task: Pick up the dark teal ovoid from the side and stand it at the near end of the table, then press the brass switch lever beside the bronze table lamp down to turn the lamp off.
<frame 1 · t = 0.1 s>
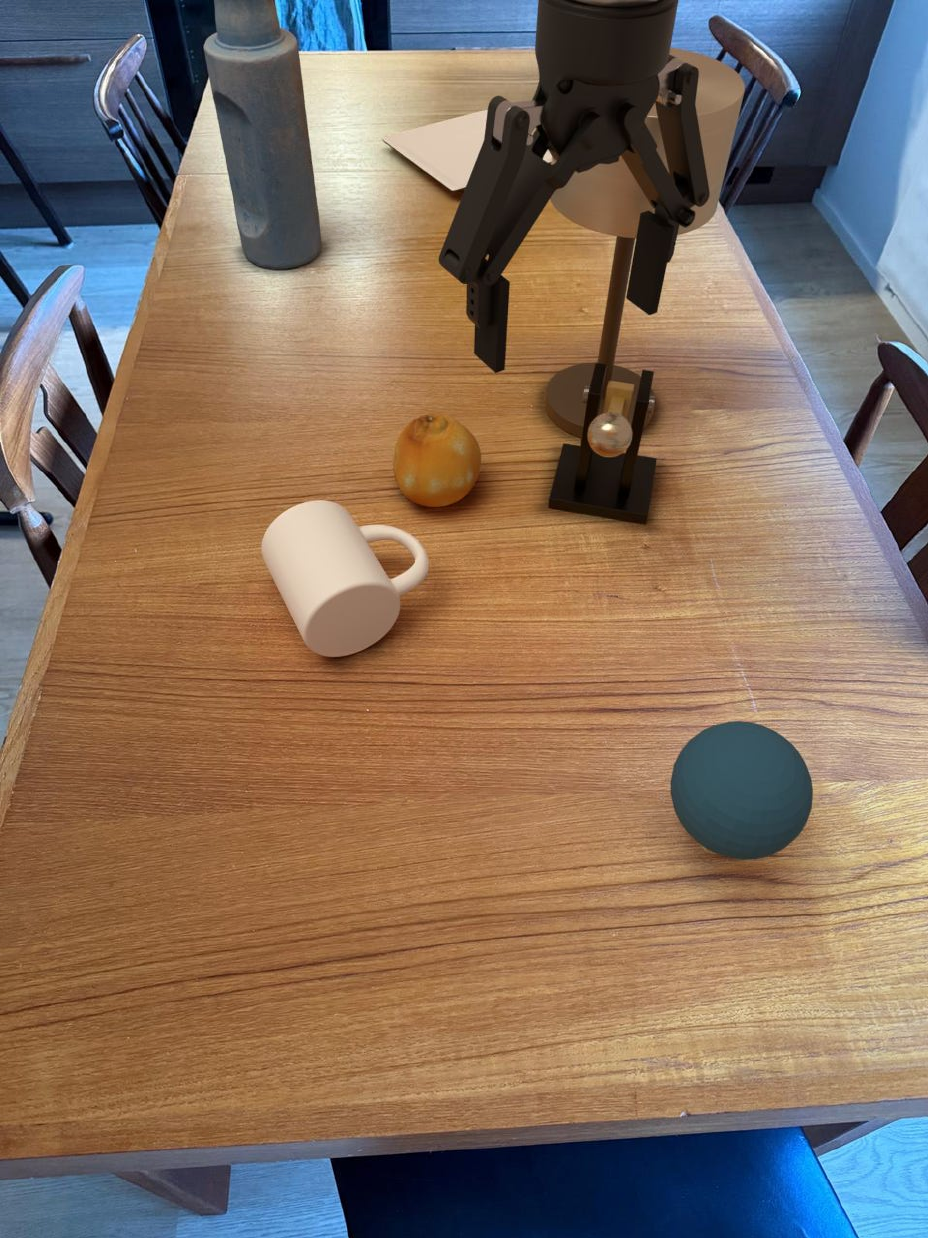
hand: (568, 332, 64), 20 cm above the table, tool pointing down, fingers open, 13 cm apart
lamp switch: (614, 415, 70), point 13 cm above the table, hinge at 25.0°
switch bracket: (602, 487, 84), on the table
fruit: (436, 490, 83), on the table
plate: (471, 162, 127), on the table
dark teal ovoid: (710, 846, 61), on the table
lamp: (598, 406, 92), on the table
bottle: (282, 252, 110), on the table
mug: (357, 603, 75), on the table
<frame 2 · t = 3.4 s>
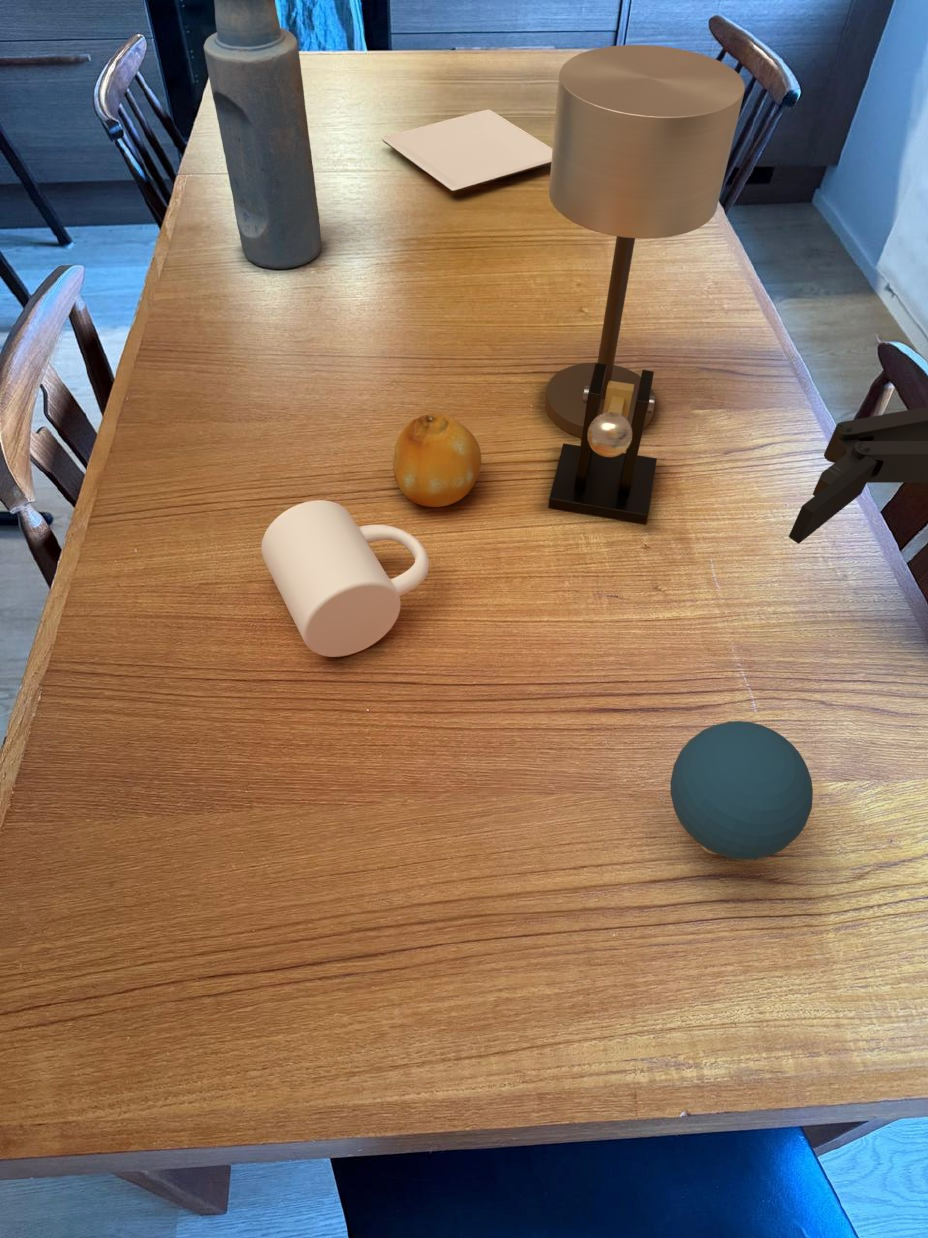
hand: (900, 594, 50), 20 cm above the table, tool horizontal, fingers open, 13 cm apart
nothing on the table moved.
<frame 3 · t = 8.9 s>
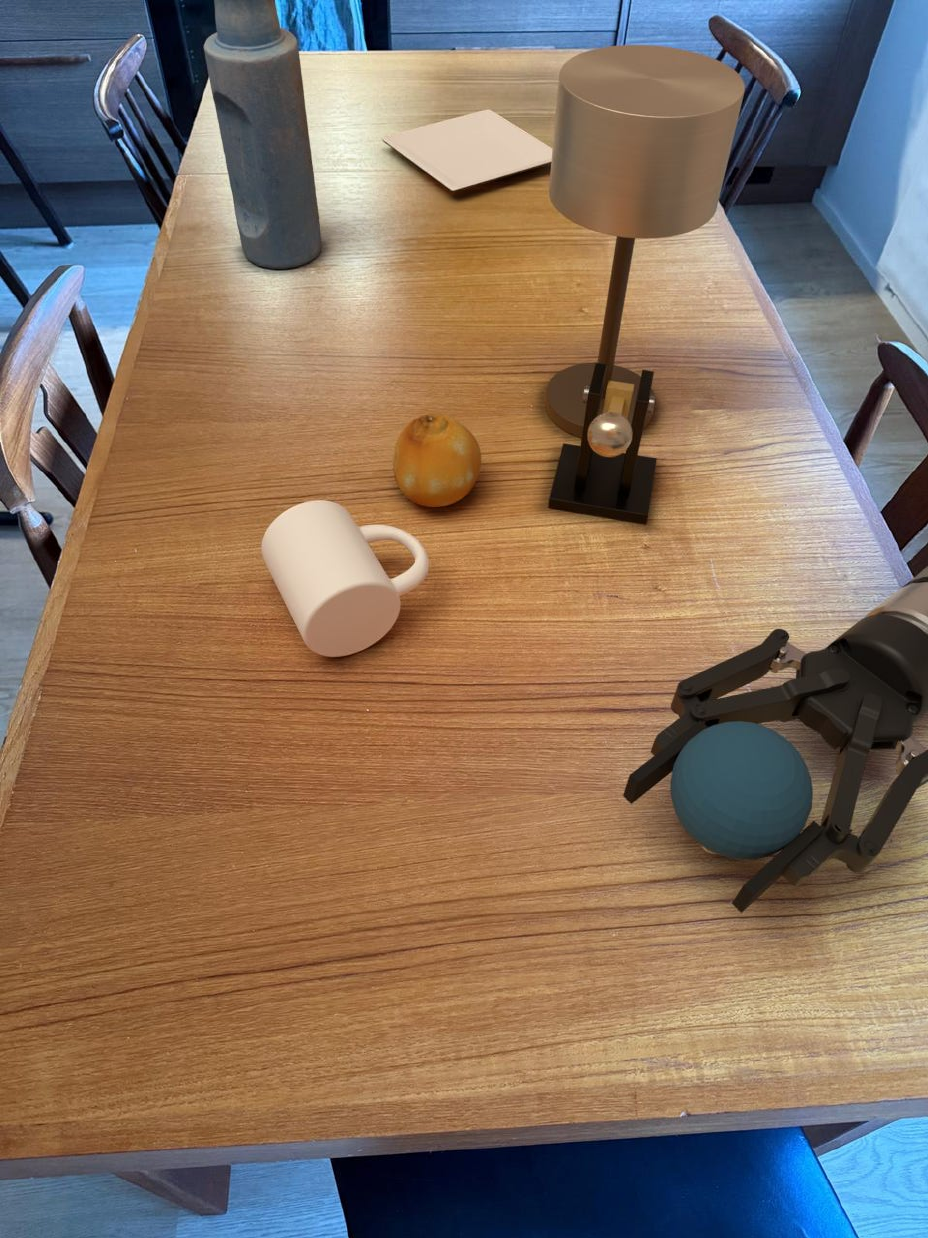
hand: (684, 842, 54), 7 cm above the table, tool horizontal, fingers closed on dark teal ovoid, 8 cm apart
dark teal ovoid: (710, 846, 61), on the table, touching gripper
everything else where it was.
when the fingers open (7 cm above the table, at t = 16.5 s): dark teal ovoid stays where it is, on the table.
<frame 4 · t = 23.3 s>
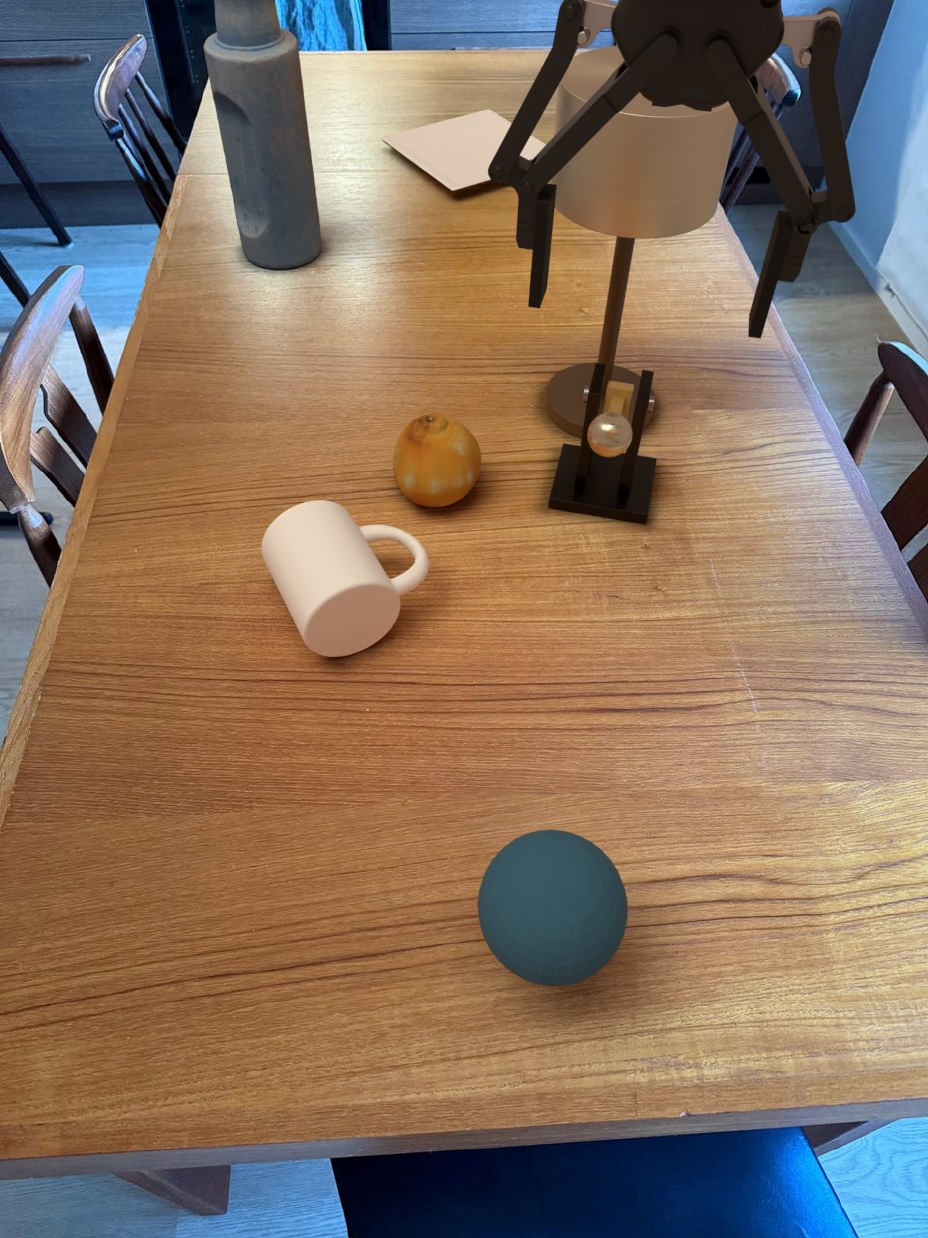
hand: (644, 312, 56), 26 cm above the table, tool pointing down, fingers open, 13 cm apart
dark teal ovoid: (540, 955, 56), on the table
everything else where it was.
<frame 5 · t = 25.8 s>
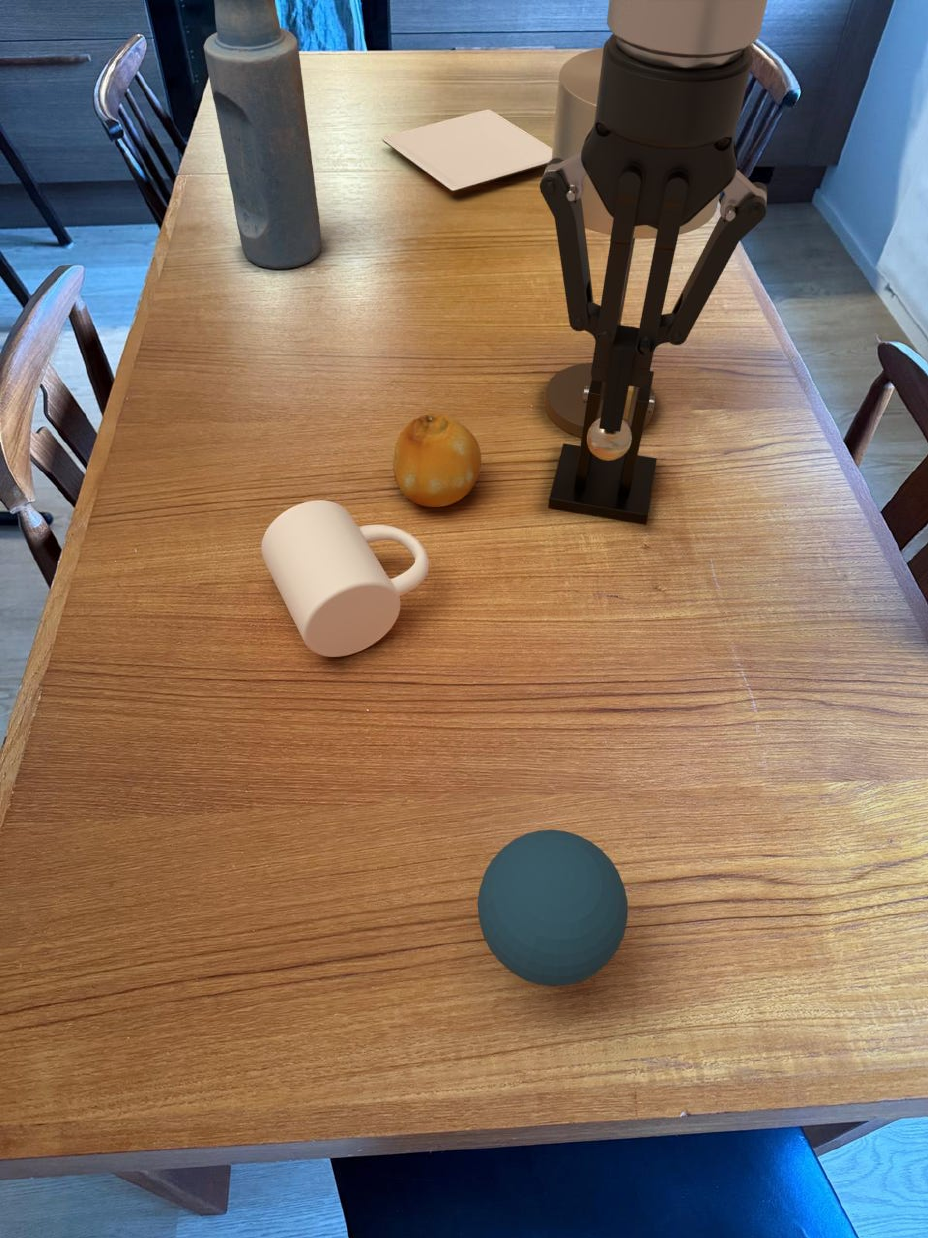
hand: (612, 417, 63), 17 cm above the table, tool pointing down, fingers closed
lamp switch: (614, 417, 70), point 13 cm above the table, hinge at 23.9°, touching gripper
everything else where it was.
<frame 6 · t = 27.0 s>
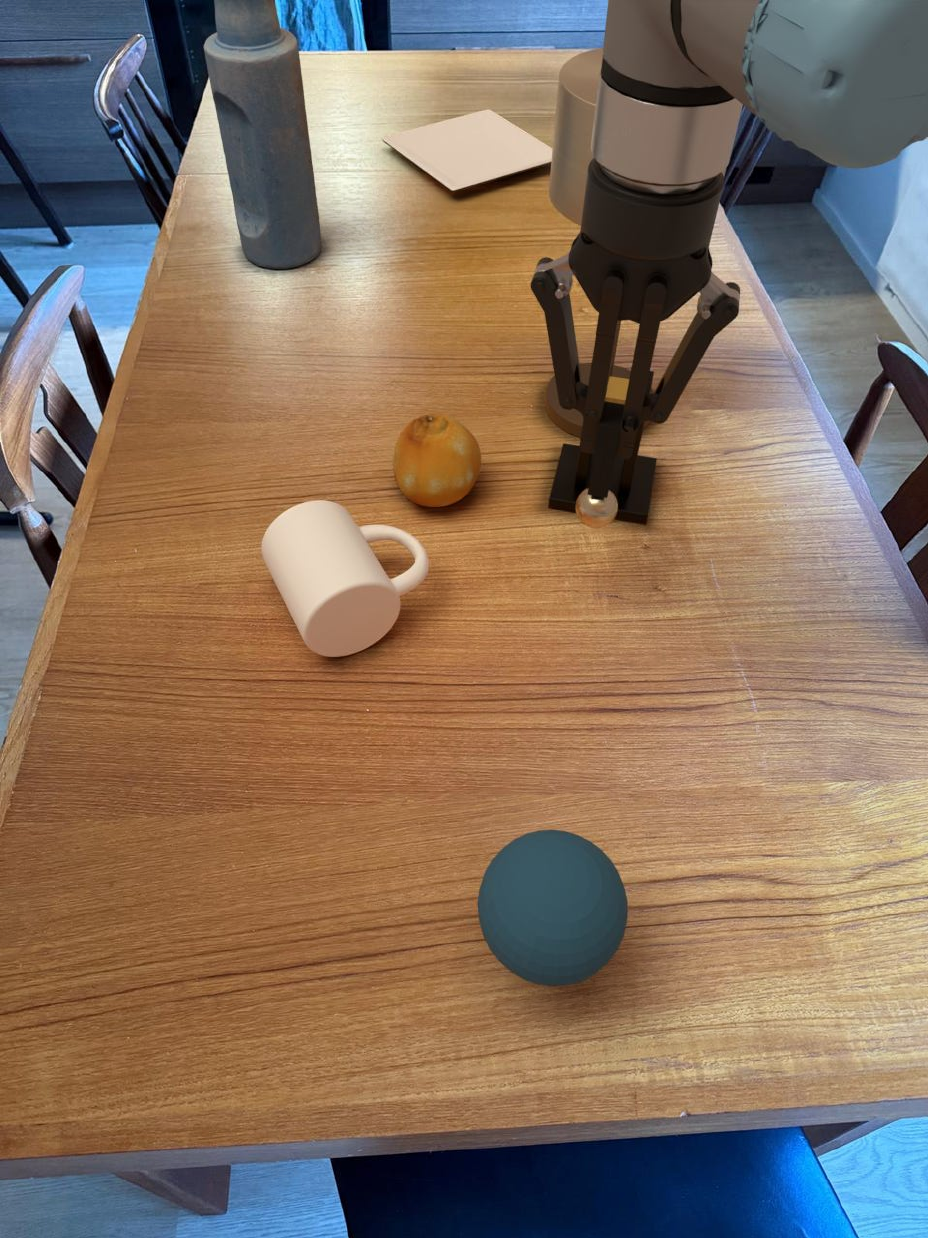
hand: (599, 483, 67), 11 cm above the table, tool pointing down, fingers closed
lamp switch: (607, 451, 72), point 10 cm above the table, hinge at -2.4°
everything else where it was.
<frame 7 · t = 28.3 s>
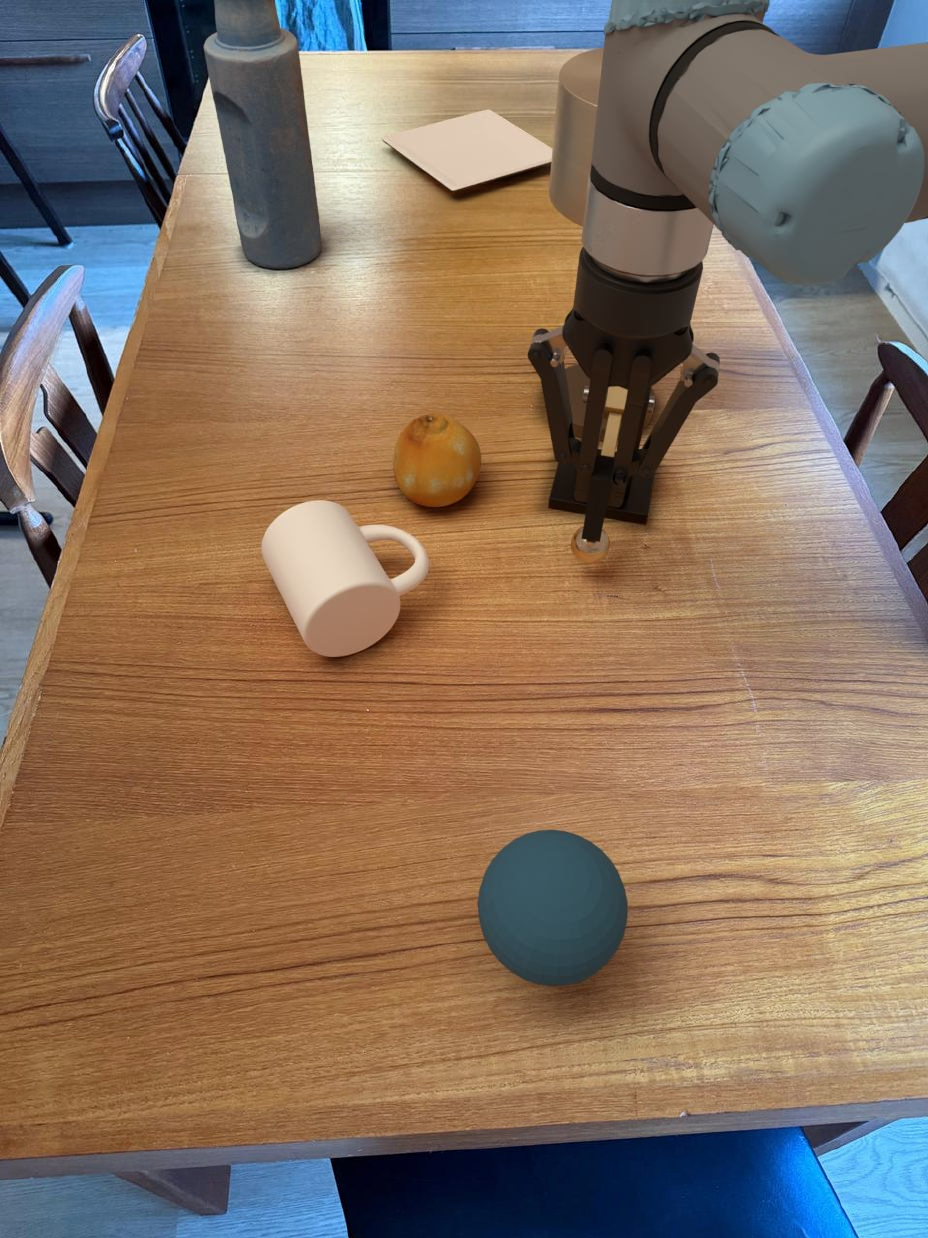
hand: (592, 528, 72), 6 cm above the table, tool pointing down, fingers closed
lamp switch: (604, 471, 75), point 7 cm above the table, hinge at -28.4°, touching gripper
everything else where it was.
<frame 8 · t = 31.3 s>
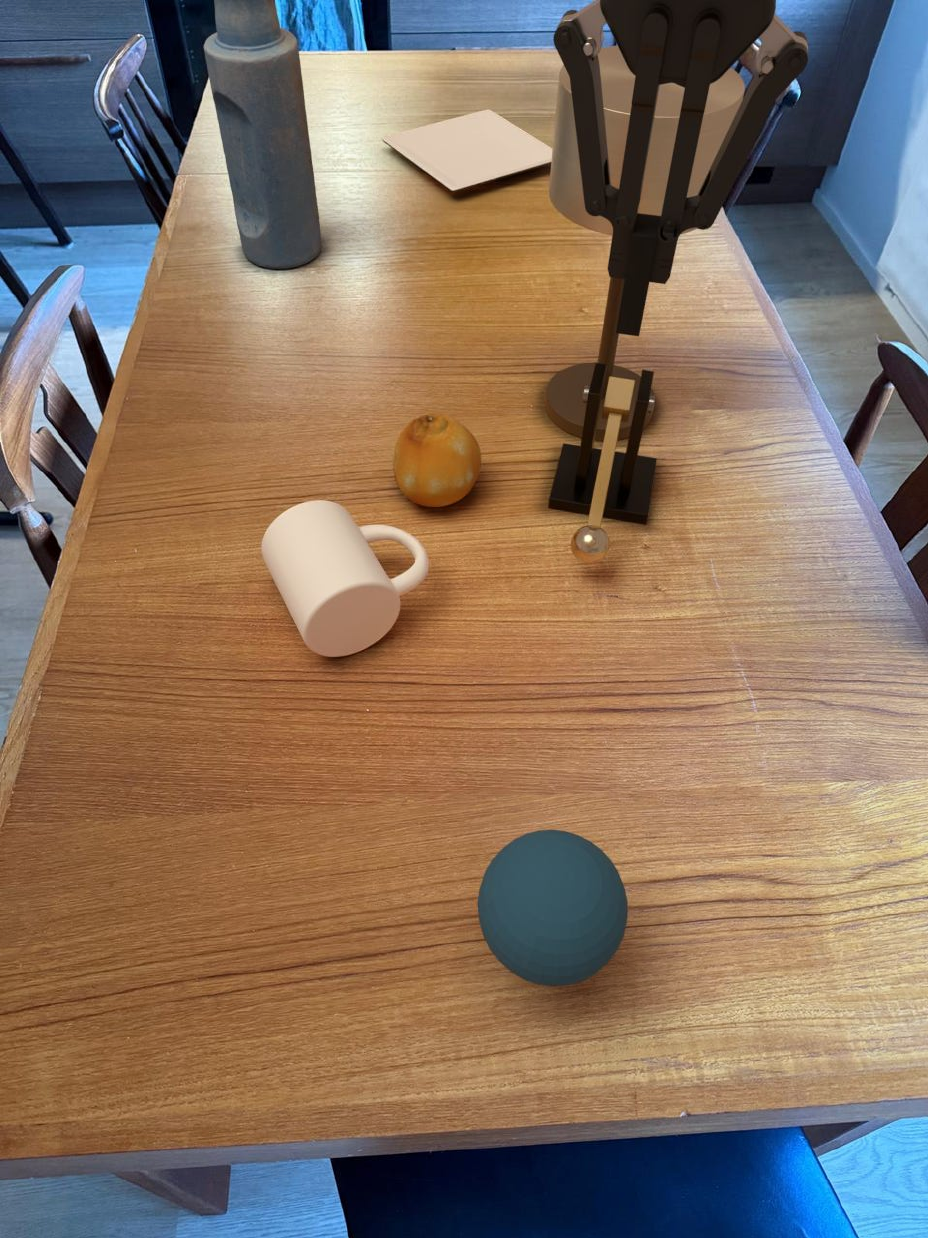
hand: (629, 322, 58), 24 cm above the table, tool pointing down, fingers closed
lamp switch: (604, 471, 75), point 7 cm above the table, hinge at -28.5°
everything else where it was.
at the end: dark teal ovoid inside the target area (0.0 cm from its centre), on the table; dark teal ovoid tilted 0°; lamp switch at -28° (first picture: +25°) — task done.
